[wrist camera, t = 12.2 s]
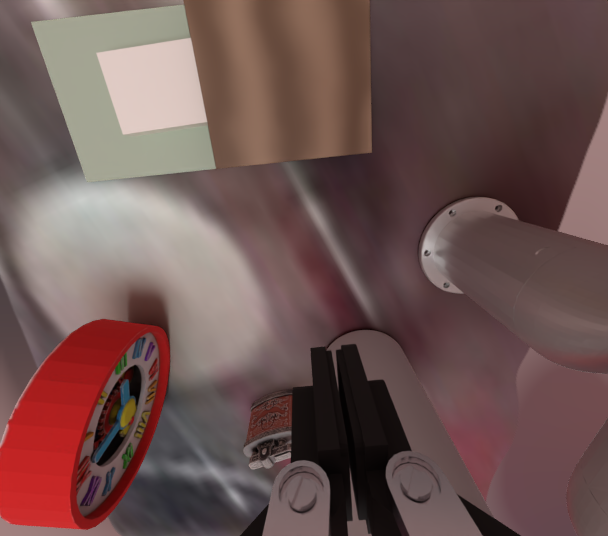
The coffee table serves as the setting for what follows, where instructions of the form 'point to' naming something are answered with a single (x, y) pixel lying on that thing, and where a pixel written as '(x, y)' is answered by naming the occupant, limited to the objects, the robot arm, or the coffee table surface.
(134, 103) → the tile
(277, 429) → the lighter
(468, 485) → the cylinder vase
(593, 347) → the robot arm
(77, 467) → the toy clock
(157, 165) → the mat
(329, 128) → the plate
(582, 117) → the coffee table surface
